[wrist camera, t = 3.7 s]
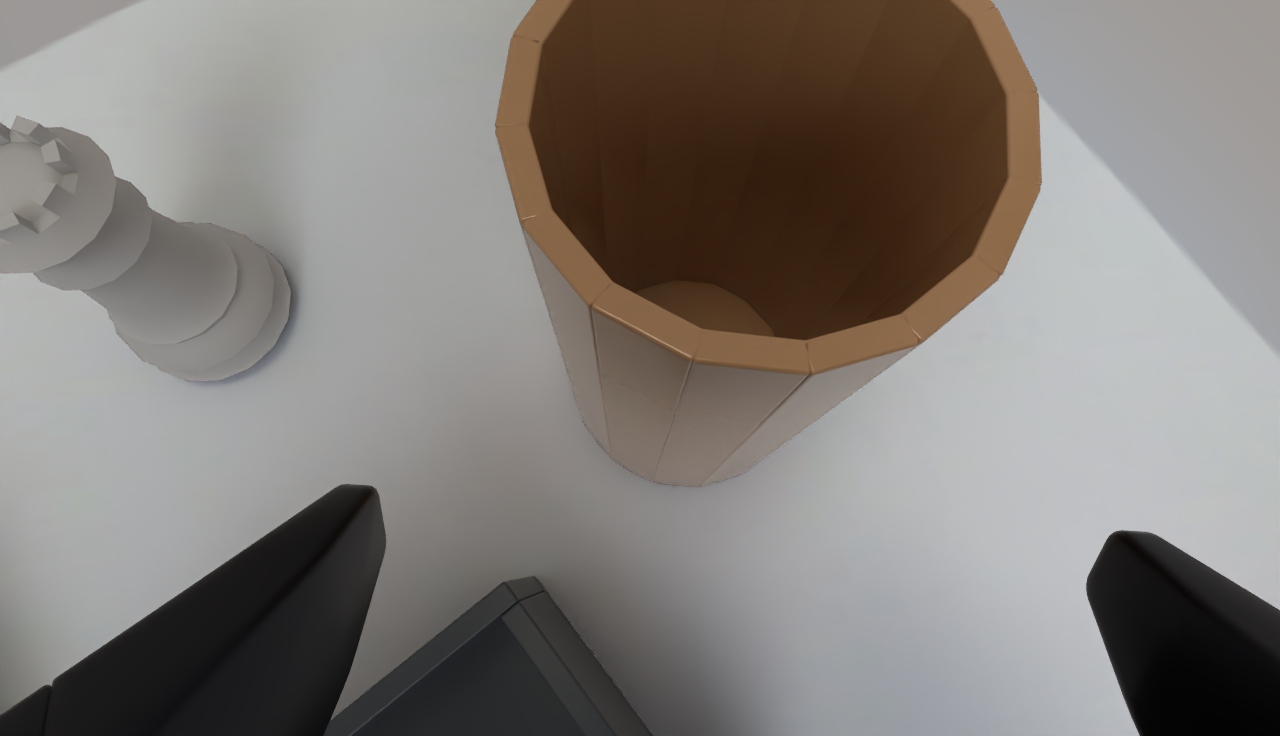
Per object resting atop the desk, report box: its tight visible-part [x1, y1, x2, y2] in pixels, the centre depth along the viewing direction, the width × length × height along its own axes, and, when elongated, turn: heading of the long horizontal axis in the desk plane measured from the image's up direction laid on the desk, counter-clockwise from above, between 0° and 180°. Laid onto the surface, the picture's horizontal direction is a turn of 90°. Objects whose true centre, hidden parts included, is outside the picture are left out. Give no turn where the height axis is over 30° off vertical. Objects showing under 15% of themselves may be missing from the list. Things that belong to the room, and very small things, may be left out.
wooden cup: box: [495, 0, 1042, 487], centre depth 15 cm, size 6×6×13 cm
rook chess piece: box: [0, 116, 291, 381], centre depth 17 cm, size 4×4×8 cm
